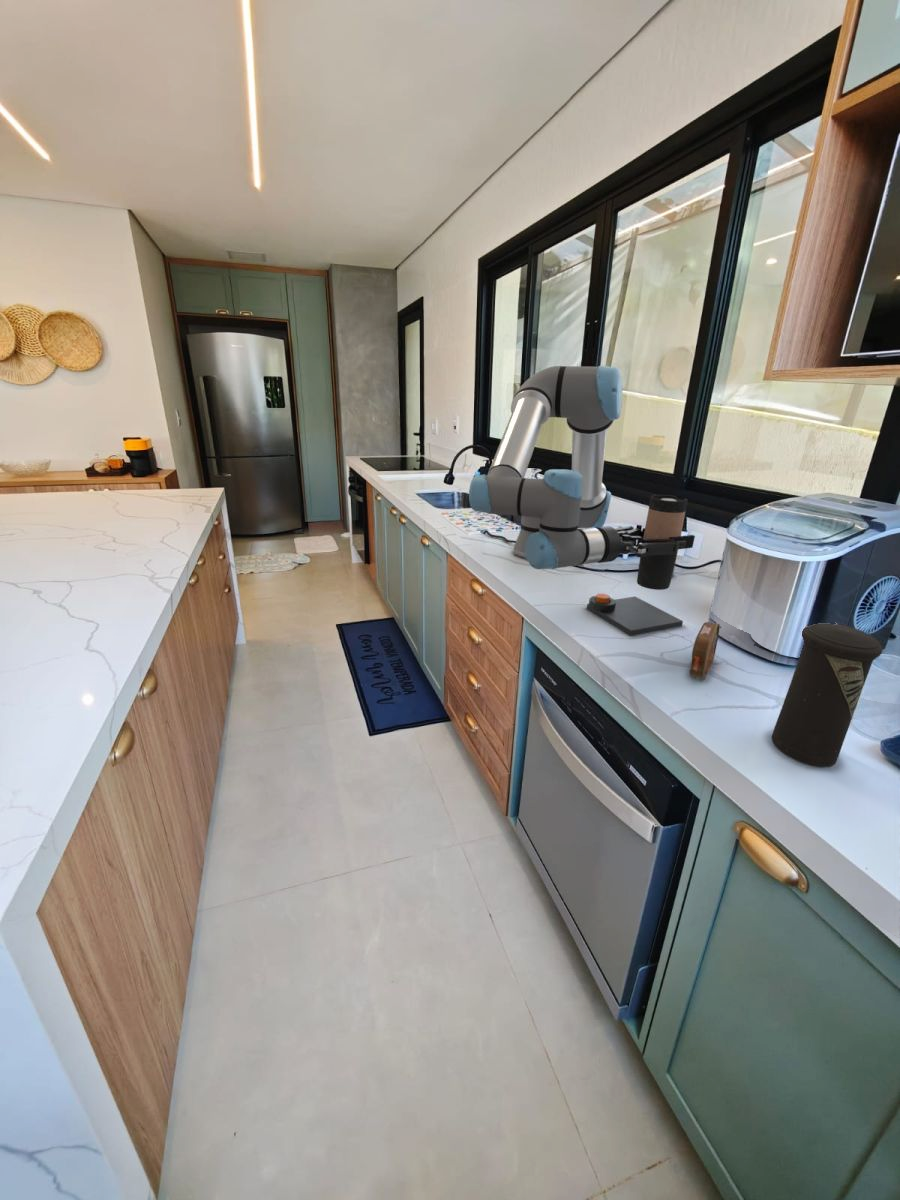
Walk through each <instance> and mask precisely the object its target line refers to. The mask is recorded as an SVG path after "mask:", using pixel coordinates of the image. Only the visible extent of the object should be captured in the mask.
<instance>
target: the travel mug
mask: <svg viewBox="0 0 900 1200" xmlns="http://www.w3.org/2000/svg"><path fill="white" fill-rule="evenodd" d="M687 506H688V499H687V498H684V499H679V498H678V497H677V496H676V495H670V494H654V495H651V496H650V499H649V504H648V510H647V515H646V516H647V517H646V521H645V527H644V528H645V531H644V537H643V539H669V537H678V536H682V532H683V526H684V521H685V516H686V510H687ZM678 552H679V549H677V554H672V555H670V554H668V555H652V556H644V557H639V562H638V563H639V564H638V570H637V577H636V584H637V585H638V586H640V587H641V588H645V589H650V590H654V591H655V590H656V591H657V590H658V591H660V590H661V591H663V590H668V589H669V588H670V586H671V582H672V579H673V577H672V574H673V575H674V572H673V569H674V570H675V567H674V565H675V566H676V562H675V561H677V557H678V554H679V553H678Z"/></svg>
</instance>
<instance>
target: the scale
mask: <svg viewBox="0 0 900 1200" xmlns="http://www.w3.org/2000/svg"><path fill="white" fill-rule="evenodd" d="M586 610H587V611H589V612H590V613H592V614H594V615H596V616H597V617H599V618H600V619H602V620H604V621H605V622H607V623H608V624H610V625H612V626H613V627H615V628H617V629H619V630H620V631H621V632H623V633H624V634H626V635H628V636H630V637H634V636H639V635H644V634H648V633H654V632H658V631H659V632H660V631H665V630H670V629H674V628H679V627H682V626H683V623H684V621H683V620H682V619H680V618H677V617H676V616H675V615H674V616H673V615H672V614H670V613H668V612H666V611H664V610H662V609H661V608H659V607H656V606H654V605H653V604H650V603H649V602H647V601H645V600H643V599H641V598H639V597H637V596H630V597H623V598H617V599H614V598H612V597H610V601H609V603H606V604H605V603H599V602H596V595H592V596H591V597H589V598H588V603H587V604H586Z"/></svg>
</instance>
